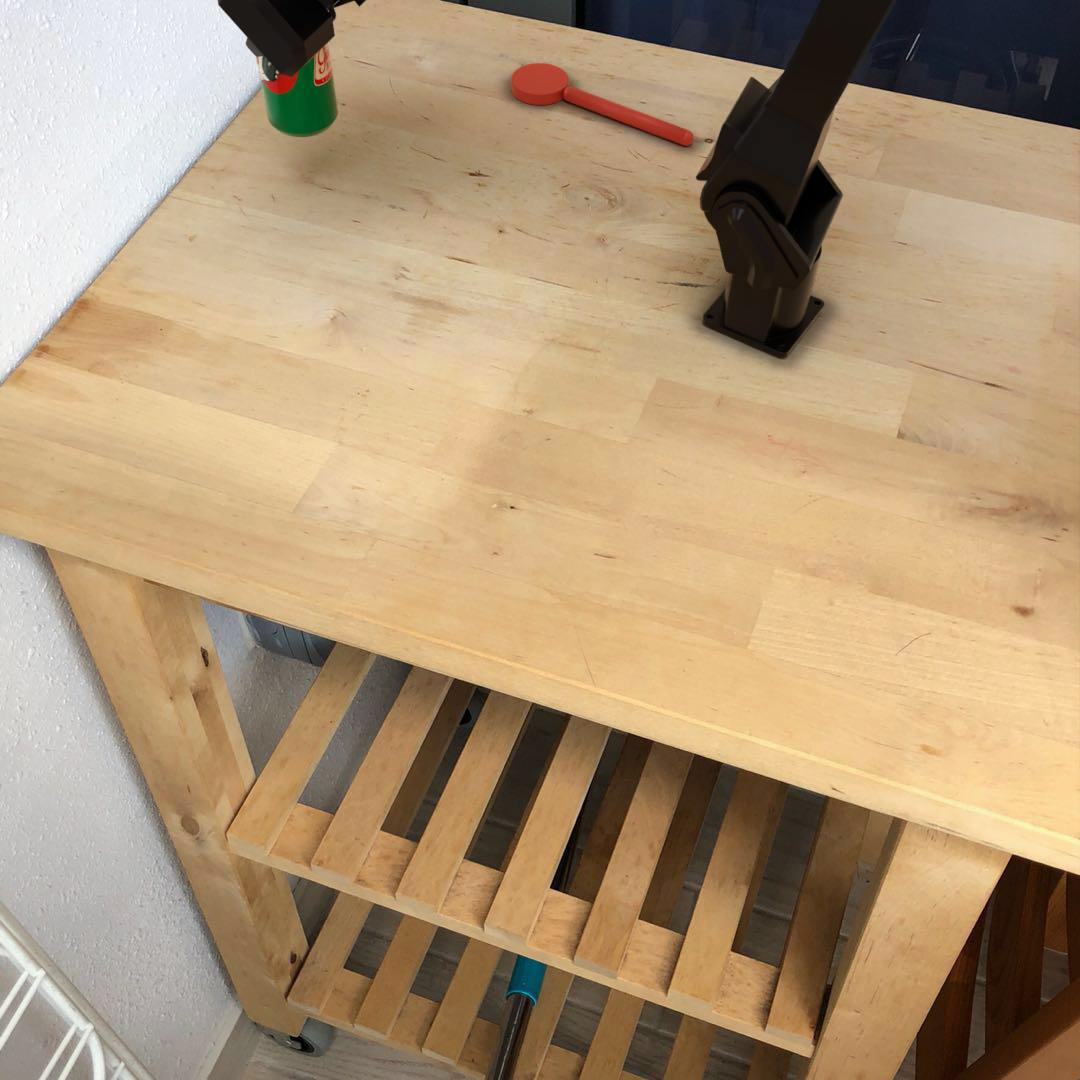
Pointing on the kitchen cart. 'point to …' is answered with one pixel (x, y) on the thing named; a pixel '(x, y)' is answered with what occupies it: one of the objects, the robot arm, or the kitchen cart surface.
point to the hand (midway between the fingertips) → (273, 30)
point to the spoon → (585, 100)
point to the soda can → (300, 96)
